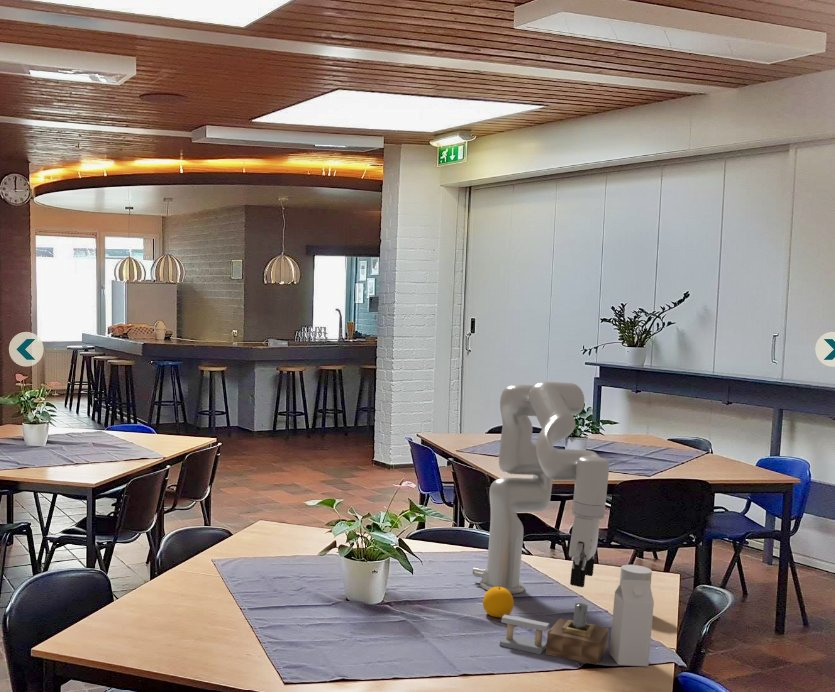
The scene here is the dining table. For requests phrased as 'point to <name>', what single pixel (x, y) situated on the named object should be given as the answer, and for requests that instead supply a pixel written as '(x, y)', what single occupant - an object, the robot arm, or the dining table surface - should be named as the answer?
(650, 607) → the milk carton
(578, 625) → the pin
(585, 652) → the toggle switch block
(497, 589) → the orange fruit
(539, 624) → the peg rack
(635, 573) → the light grey cylinder
